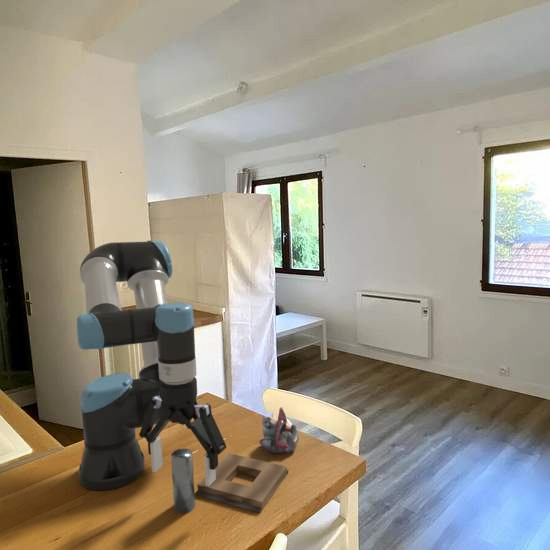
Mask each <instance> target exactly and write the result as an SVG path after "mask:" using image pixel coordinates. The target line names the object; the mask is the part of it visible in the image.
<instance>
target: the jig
mask: <svg viewBox="0 0 550 550" xmlns="http://www.w3.org/2000/svg"><path fill="white" fill-rule="evenodd" d="M215 472H216V480H215V481H214V482H213V483H212V484H211V485H210V486H206V483H205V476H204V477H203V478H202V479H201V480H200V481H199V482H198V483H197V487H196V488H197V490H196V492H195V496H198V497H202V498H206V499H209V500H212V501H216V502H219V503H224V504H227V505H230V506H235V507H238V508H242V509H243V510H244V509H245V510H247V511H248V510H249V511H251V512H255V513H259V514H260V513H262V511H263V510H264V509H265V507H266V506H267V504H268V503H269V501H270V500H271V498H272V497H273V495H274V494H275V493H276V491H277V490H278V488H279V487H280V485H281V484H282V482H283V481H284V479H285V478H286V476H287V475H288V474H289V469H288V466H286V465H282V464H277V463H275V462H274V463H273V462H269V461H264V460H261V459H260V460H259V459H256V458H250V457H247V456H242V455H237V454H233V453H229V452H228V453H227V454H226V455H225V456H224V457H223V458H222V459H221V460H220V461H218V466H217V467H216V468H215ZM238 474H241V475H246V476H249V477H254V478H255V479H254V480H253V481H252V482H251V484H250V485H246V484H242V483H239V482H234V481H232V480H233V479H234V478H235V477H236V476H237V475H238Z"/></svg>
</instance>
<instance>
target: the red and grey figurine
mask: <svg viewBox="0 0 550 550" xmlns="http://www.w3.org/2000/svg"><path fill="white" fill-rule="evenodd" d="M287 419H288V418H287V416H286V413H285V411H284V408H283V407H279V410H278V417H277V419H271V416H263V419H262V421H261V424H262V426H263V427H262V435H263V437H264V439H263V440H260V441H259V444H260V445H261V446H262V447H264V448H265V449H266V450H267V451H269V452H270V453H272V454H280V453H282V454H284V453H285V454H291V453H294V451H295V450H296V448H297V444H298V443H299V440H300V436H299V431H298V430H297V426H296V425H295V424H294V423H292V424H291V427H288V426H287V423H288V420H287Z"/></svg>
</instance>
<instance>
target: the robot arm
mask: <svg viewBox="0 0 550 550" xmlns="http://www.w3.org/2000/svg"><path fill="white" fill-rule="evenodd" d="M171 257H172V256H171V253H170V251H169V248H168V246H167V245H166V244H165V243H164V242H163V241H159V240H147V241H126V242H125V241H123V242H122V241H121V242H119V241H118V242H117V241H116V242H108V243H104V244H102V245H99V246H97V247H95V248H94V249H93V250H91V251H90V252H89V253H87V255H85V257H84V258H83V260H82V261H81V264H80V268H79V276H80V279H81V281H82V283H83V284H84V293H85V310H86V313H84V314H80V315H78V316H77V318H76V330H77V331H76V333H77V342H78V348H79V349H81V350H85V351H86V350H101V349H102V350H103V349H107V348H113V347H115V348H116V347H121V346H122V347H123V346H128V345H137V344H138V345H139V344H141V345H140V346H141V351H142V352H141V353H142V359H143V366H142V367H141V369H140V370H139V372H138V376H139V377H138V378H135V379H133V377H132V375H130V374H129V373H125V372H122V373H119V372H117V373H112V374H107V375H104V376H102V377H99V378H97V379H94V380H93V381H91V382H89V383H88V384H86V385H85V386H84V387H83V389H82V391H81V393H80V412H81V417H82V419H81V420H82V429H83V443H84V449H83V452H82V456H81V457H82V458H81V463H80V464H79V468H78V481H79V484H80V485H81V486H82V487H83V488H85V489H88V490H93V491H108V490H113V489H118V488H121V487H124V486H126V485H128V484H130V483H131V482H133V481H135V480H136V479H138V478H139V477H140V476H141V475H142V473H144V470H145V468H146V463H145V462H146V461H145V455H144V452H143V451H142V449H141V446H140V444H139V441H138V439H137V436H136V435H137V434H136V429H138V428H140V431H139V435H138V436H139V437H140V438H144V439H146V442H147V447H148V448H147V450H148V454H149V456H150V460H151V462H150V463H151V472H152V473H156V472H157V471H159V469H161V468H163V464H164V462H163V449H162V448H163V447H162V437H159V436H160V434H161V433H162V431H163V430H164V428H165V427H166V426H167V425H168V424H169V422H170V423H173V424H177V423H178V424H180V425H182V426H183V425H184V426H185V427H186V428H187V429H188V430H190V431H191V432H192V433H193V435H194V436H195V438H196V439H197V441H198V442H199V444H200V445H201V447H202V448H203V449H204V451H205V452H206V453H205V454H204V457H203V458H204V460H203V461H204V475H205V476H204V477H205V483H206V486H210V485H211V484H212V483H213V482H214V481H215V480H216V472H215V468H216V467H217V466H218V463H219V455H221V453H223V451H225V450H226V449H227V444H226V441H225V440H224V438H223V435H222V433H221V432H220V431H221V430H220V428H219V426H218V424H217V422H216V420H215V418H214V416H213V414H212V407H211V404H210V403H209V402H207V403H205V404H198V402H197V396H198V381H197V380H198V379H197V378H196V376H197V360H196V344H195V343H196V341H195V323H196V322H195V321H196V320H195V317H194V312H193V310H194V309H193V306H192V305H191V304H189V303H186V302H185V303H184V302H168V299H167V294H166V288H165V287H166V286H167V284H168V283H169V279H170V278H172V276H173V264H172V258H171ZM121 282H122V283H123V282H127V287H128V288H129V289H130V290H131V291H133V292H134V294H133V295H134V300H135V309H134V308H133V309H123V310H122V305H121V300H120V296H119V291H118V285H117V283H121ZM192 420H193V421H192ZM154 425H155V426H154Z"/></svg>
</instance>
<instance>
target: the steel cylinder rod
mask: <svg viewBox="0 0 550 550" xmlns="http://www.w3.org/2000/svg"><path fill="white" fill-rule="evenodd" d="M193 455H194V454H193V450H191V449H189V448H179V449H175V450H174V451H173V452H172V453H171V456H170V457H171V458H170V459H171V460H170V461H171V477H172V478H171V479H172V493H173V494H172V495H173V510H174V511H175V513H178V514H188V513H190V512H191V511H192V510H193V509H195V507H196V500H195V499H196V497H195V496H196V493H195V476H194V456H193Z"/></svg>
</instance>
